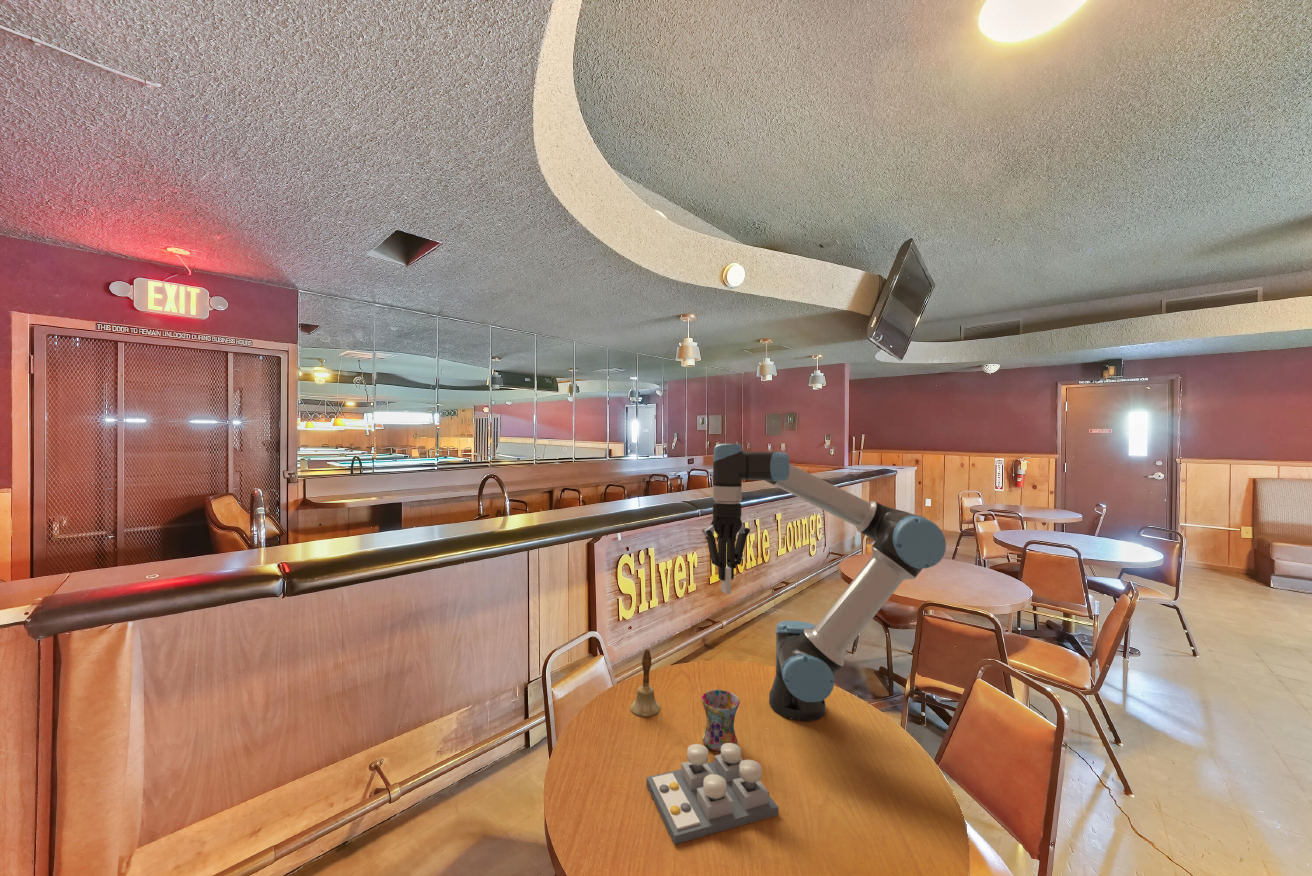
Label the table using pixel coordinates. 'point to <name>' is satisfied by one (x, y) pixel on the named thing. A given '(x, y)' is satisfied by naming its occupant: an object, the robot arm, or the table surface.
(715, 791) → the button
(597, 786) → the table surface
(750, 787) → the button
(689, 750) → the button
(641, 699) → the hand bell
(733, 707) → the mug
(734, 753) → the button
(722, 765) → the board
